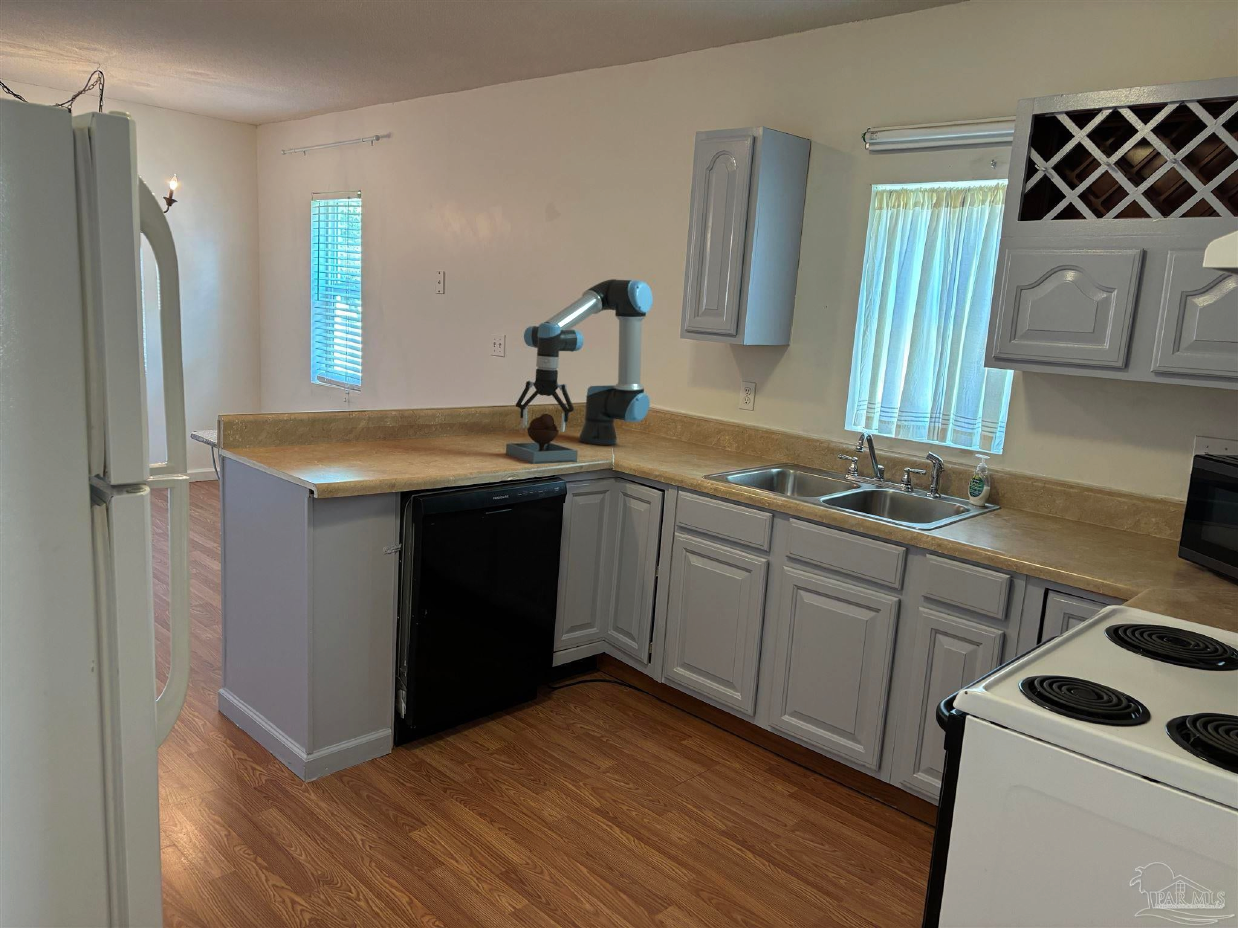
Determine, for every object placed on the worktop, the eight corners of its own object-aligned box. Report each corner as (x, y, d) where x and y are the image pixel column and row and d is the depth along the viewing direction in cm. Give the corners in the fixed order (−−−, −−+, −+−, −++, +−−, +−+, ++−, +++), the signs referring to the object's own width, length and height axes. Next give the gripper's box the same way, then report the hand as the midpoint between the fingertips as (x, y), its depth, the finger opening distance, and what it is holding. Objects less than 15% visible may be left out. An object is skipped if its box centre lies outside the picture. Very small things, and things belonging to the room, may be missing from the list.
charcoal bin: (548, 452, 320) (549, 441, 320) (576, 461, 306) (577, 450, 306) (505, 454, 309) (506, 443, 308) (533, 464, 295) (533, 452, 295)
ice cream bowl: (558, 455, 313) (561, 413, 310) (553, 459, 302) (556, 416, 299) (529, 452, 313) (532, 410, 311) (523, 456, 302) (526, 413, 300)
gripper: (509, 366, 300) (505, 427, 304) (580, 372, 297) (576, 434, 301) (514, 365, 307) (511, 425, 311) (584, 370, 305) (580, 431, 309)
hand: (543, 429), depth 306 cm, fingers open, 13 cm apart
